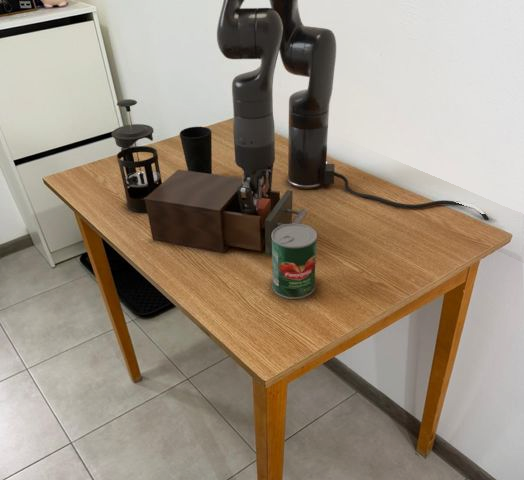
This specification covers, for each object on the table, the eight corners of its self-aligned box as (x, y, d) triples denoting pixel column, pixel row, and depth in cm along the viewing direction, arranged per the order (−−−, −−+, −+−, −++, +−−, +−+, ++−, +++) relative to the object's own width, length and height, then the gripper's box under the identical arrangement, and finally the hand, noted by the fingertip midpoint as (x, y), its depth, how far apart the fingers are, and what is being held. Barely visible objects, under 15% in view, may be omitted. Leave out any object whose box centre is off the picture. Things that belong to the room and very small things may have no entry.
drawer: (310, 227, 108) (311, 193, 103) (291, 259, 99) (291, 224, 94) (226, 214, 114) (224, 180, 108) (201, 243, 105) (196, 209, 99)
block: (271, 218, 105) (270, 198, 102) (263, 228, 102) (263, 208, 99) (251, 215, 106) (250, 196, 103) (243, 225, 103) (242, 205, 100)
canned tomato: (294, 269, 98) (295, 218, 91) (323, 287, 94) (326, 234, 86) (263, 286, 95) (261, 234, 87) (292, 305, 90) (293, 252, 83)
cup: (214, 186, 126) (209, 137, 118) (184, 187, 126) (177, 138, 118) (217, 173, 132) (212, 126, 124) (188, 174, 132) (181, 126, 124)
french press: (175, 205, 119) (159, 101, 104) (140, 218, 115) (117, 112, 100) (150, 188, 126) (132, 89, 111) (116, 200, 122) (92, 99, 106)
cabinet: (249, 219, 113) (247, 178, 107) (223, 253, 103) (219, 210, 97) (183, 209, 118) (178, 169, 111) (152, 240, 108) (144, 198, 101)
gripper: (259, 155, 87) (262, 242, 98) (285, 126, 96) (285, 208, 108) (219, 150, 89) (227, 236, 100) (249, 122, 98) (253, 203, 110)
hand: (257, 221), depth 104 cm, fingers closed on block, 4 cm apart
